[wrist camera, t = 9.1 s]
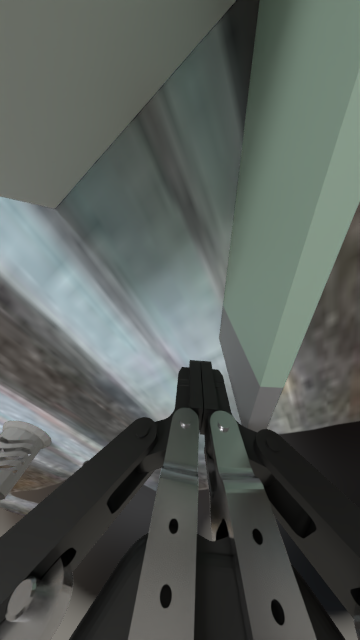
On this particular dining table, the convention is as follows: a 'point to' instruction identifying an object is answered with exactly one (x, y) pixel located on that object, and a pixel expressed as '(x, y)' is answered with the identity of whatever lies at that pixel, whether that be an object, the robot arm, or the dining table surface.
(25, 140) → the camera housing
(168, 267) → the dining table surface
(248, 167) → the side door
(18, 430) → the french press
